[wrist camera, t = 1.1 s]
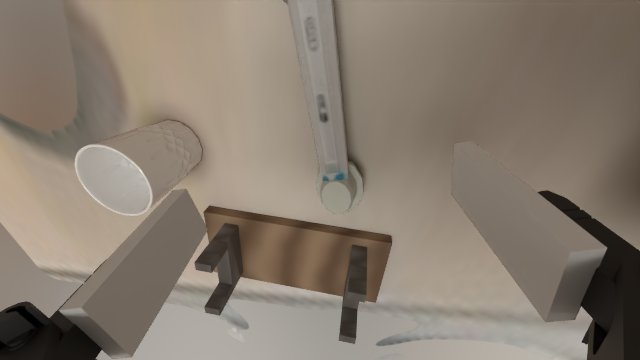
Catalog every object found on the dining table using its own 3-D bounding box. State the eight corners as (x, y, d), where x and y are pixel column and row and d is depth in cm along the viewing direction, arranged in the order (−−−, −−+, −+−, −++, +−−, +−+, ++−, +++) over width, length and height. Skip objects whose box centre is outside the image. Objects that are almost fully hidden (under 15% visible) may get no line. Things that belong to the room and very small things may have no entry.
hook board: (391, 235, 36) (397, 292, 28) (375, 294, 41) (376, 354, 34) (209, 205, 38) (168, 249, 31) (218, 264, 44) (186, 314, 36)
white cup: (139, 116, 33) (58, 146, 24) (195, 113, 32) (130, 143, 23) (163, 172, 37) (99, 215, 28) (214, 172, 35) (164, 217, 27)
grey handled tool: (330, -81, 19) (364, 229, 27) (341, -42, 25) (365, 201, 33) (262, -60, 20) (314, 230, 28) (288, -27, 26) (324, 203, 34)
